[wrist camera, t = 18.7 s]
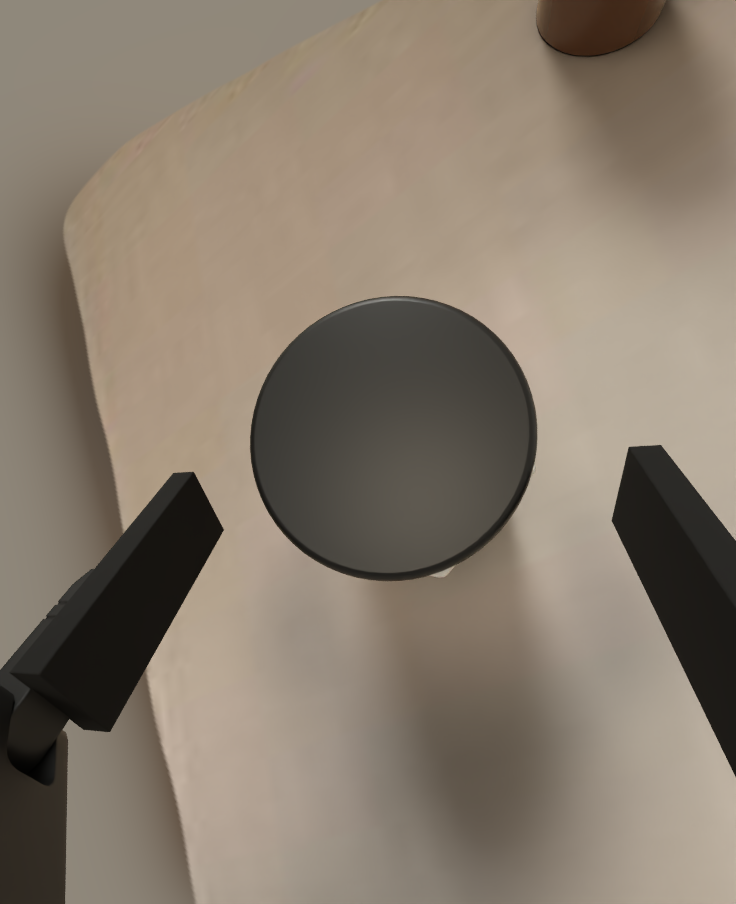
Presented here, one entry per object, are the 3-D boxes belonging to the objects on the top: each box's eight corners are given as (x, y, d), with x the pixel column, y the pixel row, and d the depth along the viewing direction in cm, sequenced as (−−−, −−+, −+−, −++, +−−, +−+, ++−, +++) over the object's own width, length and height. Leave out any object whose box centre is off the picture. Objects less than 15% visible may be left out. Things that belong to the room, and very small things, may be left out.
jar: (515, 415, 22) (577, 301, 11) (492, 566, 21) (532, 622, 10) (358, 394, 24) (268, 281, 13) (330, 531, 23) (205, 542, 12)
